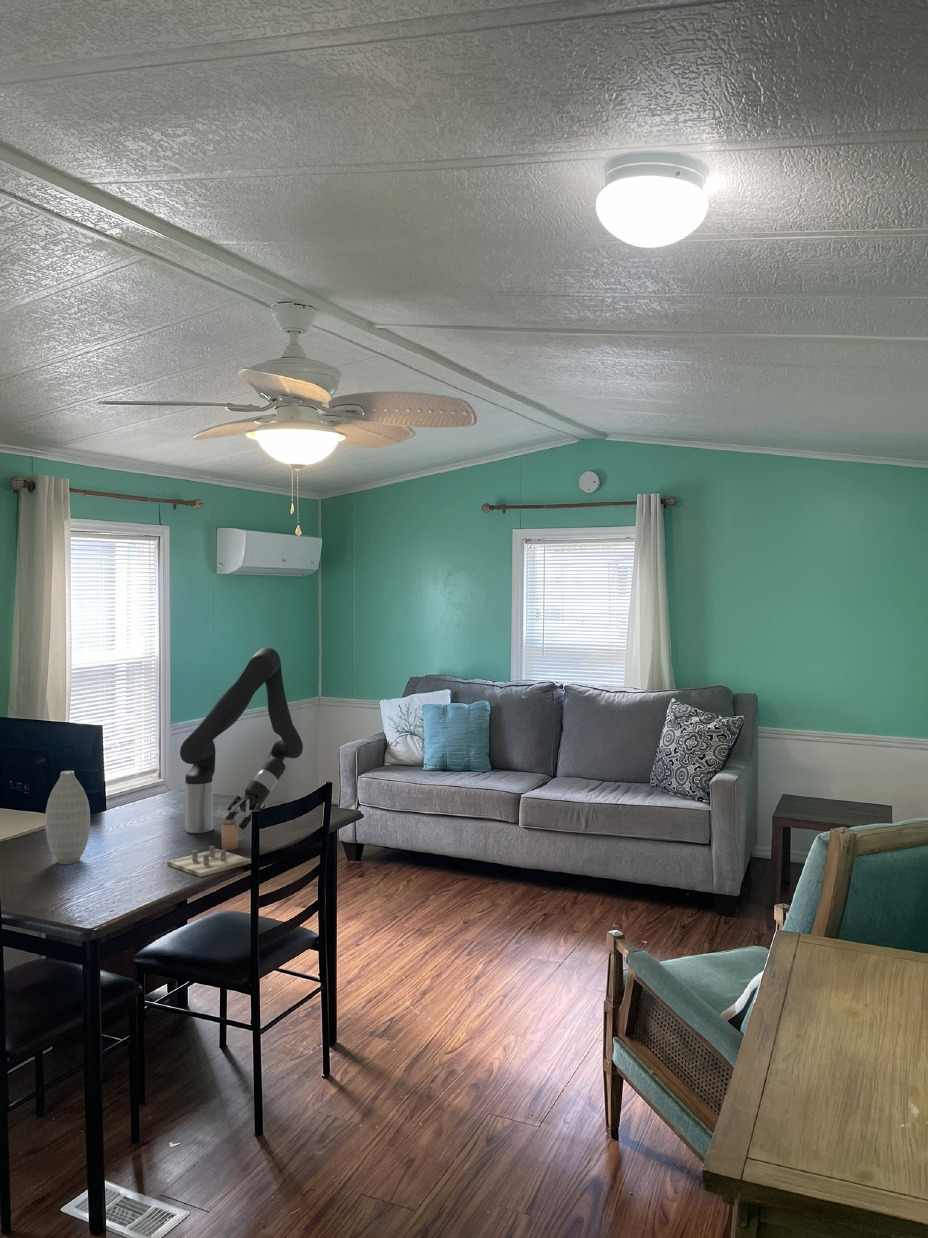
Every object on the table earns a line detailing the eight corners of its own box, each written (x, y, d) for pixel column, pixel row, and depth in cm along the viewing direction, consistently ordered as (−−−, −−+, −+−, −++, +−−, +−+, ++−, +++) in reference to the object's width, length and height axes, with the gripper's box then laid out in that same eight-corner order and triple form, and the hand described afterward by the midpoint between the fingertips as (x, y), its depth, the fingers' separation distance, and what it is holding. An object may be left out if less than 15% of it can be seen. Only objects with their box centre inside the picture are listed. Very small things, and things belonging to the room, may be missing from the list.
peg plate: (167, 865, 279) (167, 851, 279) (217, 852, 292) (217, 839, 292) (200, 877, 267) (200, 862, 267) (251, 863, 281) (251, 849, 281)
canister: (218, 848, 298) (218, 821, 298) (231, 844, 302) (231, 818, 302) (227, 850, 295) (227, 823, 294) (241, 847, 299) (240, 820, 298)
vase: (46, 858, 286) (45, 769, 286) (90, 854, 291) (89, 766, 291) (45, 869, 275) (44, 777, 274) (90, 864, 280) (89, 773, 279)
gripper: (242, 776, 310) (213, 816, 302) (267, 782, 301) (239, 823, 292) (255, 789, 314) (227, 829, 306) (281, 795, 305) (253, 836, 296)
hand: (233, 826), depth 299 cm, fingers open, 8 cm apart
